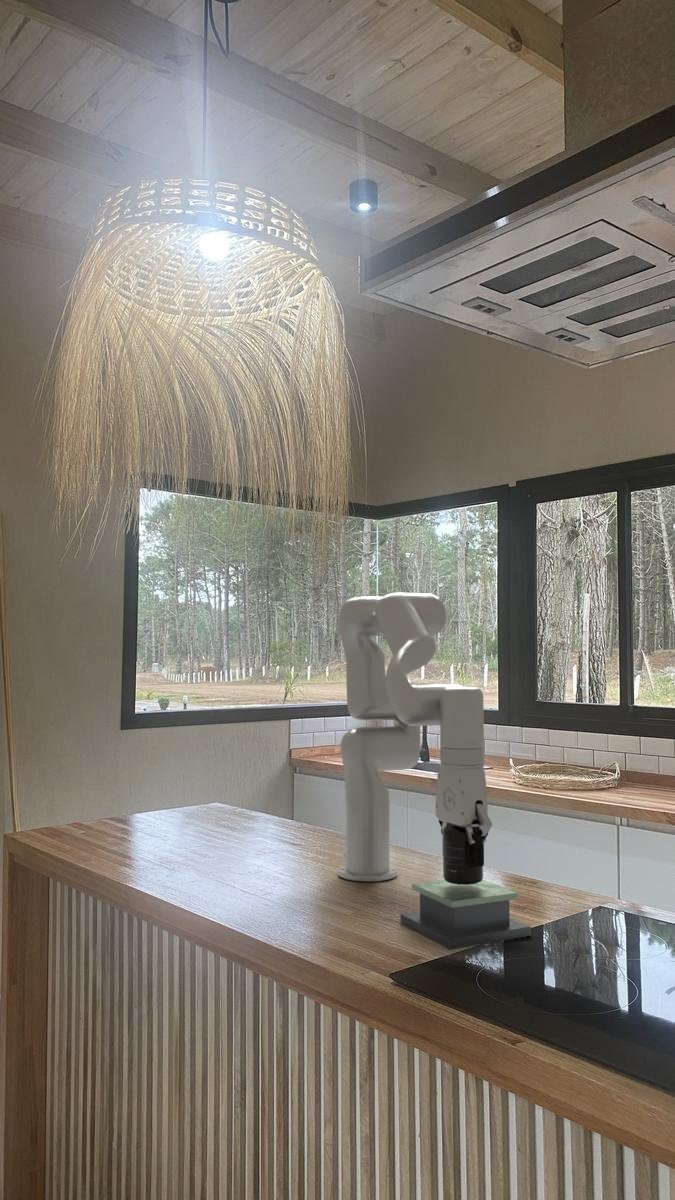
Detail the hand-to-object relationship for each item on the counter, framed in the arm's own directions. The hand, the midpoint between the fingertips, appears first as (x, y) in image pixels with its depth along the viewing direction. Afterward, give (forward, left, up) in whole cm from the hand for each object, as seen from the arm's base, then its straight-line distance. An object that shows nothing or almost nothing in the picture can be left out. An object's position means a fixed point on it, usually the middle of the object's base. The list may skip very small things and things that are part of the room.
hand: (462, 861), depth 156 cm
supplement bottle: (0, 0, -4) cm, 4 cm away
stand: (0, 0, -12) cm, 12 cm away
